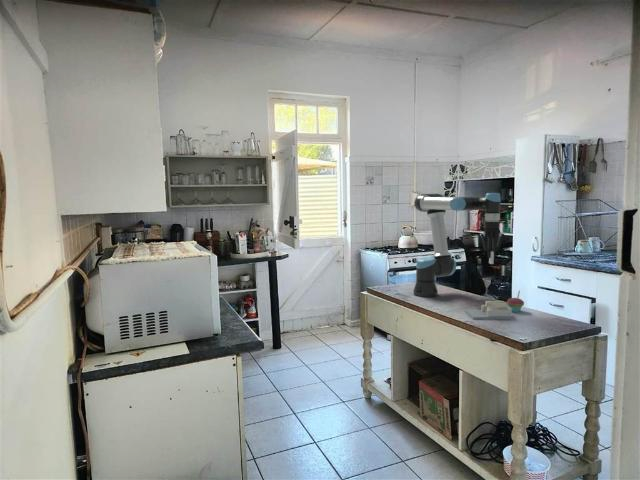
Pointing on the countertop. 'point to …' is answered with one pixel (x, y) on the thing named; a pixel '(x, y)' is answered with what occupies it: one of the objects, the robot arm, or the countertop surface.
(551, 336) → the countertop surface
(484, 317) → the rail board
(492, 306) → the panel block
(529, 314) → the countertop surface
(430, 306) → the countertop surface
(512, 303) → the cupcake
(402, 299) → the countertop surface
